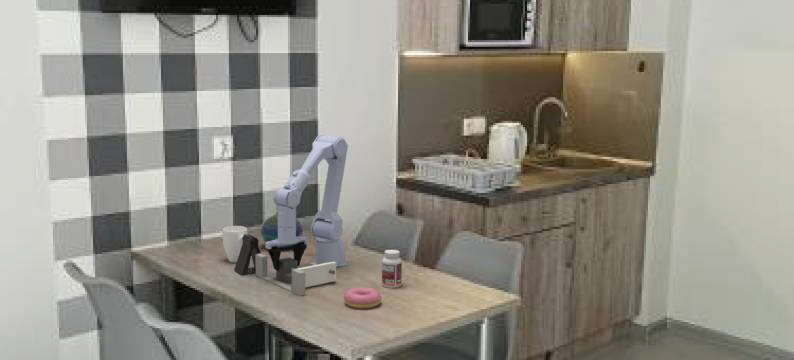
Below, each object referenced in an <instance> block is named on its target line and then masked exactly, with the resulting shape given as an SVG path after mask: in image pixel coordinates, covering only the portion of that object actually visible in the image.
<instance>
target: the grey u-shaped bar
mask: <svg viewBox="0 0 794 360" xmlns="http://www.w3.org/2000/svg"><path fill="white" fill-rule="evenodd" d="M255 276H257V277H259V278H260V279H262V280H264V281H267V282H269V283H271V284H274V285H275V286H278V287H280V288H282V289H284V290H286V291H288V292H290V293H293V294H295V295H297V296H299V297H301V296H305V295H306V287H305V272H304V271H301V270H299V269H295V270H294V268H292V269H291V286H289V285H287V284H285V283H283V282H281V281H279V280H278V279H277V280H276V279H274V278H272V277H269V276H268V255H266V254H263V253H260V254H256V273H255Z"/></svg>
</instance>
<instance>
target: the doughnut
mask: <svg viewBox="0 0 794 360" xmlns="http://www.w3.org/2000/svg"><path fill="white" fill-rule="evenodd" d="M343 299H344V302H345V304H346V305H347V306H349V307H351V308H354V309H372V308H374V307H376V306H378V305H379V304H381V300H382V295H381V293H380V291H379V290H377V289H376V288H373V287H368V286H366V287H365V286H362V287H354V288H349V289H348V290H347V291H346V292H345V293H344V295H343Z"/></svg>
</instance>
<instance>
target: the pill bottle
mask: <svg viewBox="0 0 794 360" xmlns="http://www.w3.org/2000/svg"><path fill="white" fill-rule="evenodd" d="M400 253H401V252H400V251H399V250H398V249H386V250H384V257H383V258H382V259H381V284H382V286H383V287H385V288H388V289H390V288H391V289H395V288H399V287H401V286H402V281H403V280H402V275H403V274H402V270H403V269H402V268H403V265H402V263H403V260H402V259H401V258H400Z"/></svg>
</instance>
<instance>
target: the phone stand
mask: <svg viewBox="0 0 794 360" xmlns="http://www.w3.org/2000/svg"><path fill="white" fill-rule="evenodd" d="M242 240H243V243H242V247H241V250H240V253H239V256H238V260H237V262H236V263H235V267H234V270H233V271H235V272H236V273H238V274H240V276H247V275H253V274H256V254H260V253H261V250H260V247H259V246H260V245H259V243H260V242H259V238H257V237H255V236H254V235H251V234H250V233H247V235H246V234H245V235H243V237H242ZM261 254H262V253H261ZM251 260H252V263H253V264H252V265H253V266H251V267H249V266H250V261H251Z"/></svg>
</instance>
